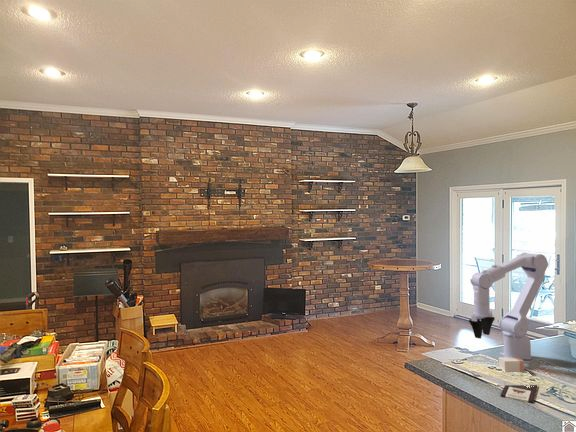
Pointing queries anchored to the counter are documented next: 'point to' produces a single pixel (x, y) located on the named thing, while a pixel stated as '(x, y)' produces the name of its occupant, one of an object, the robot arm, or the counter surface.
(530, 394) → the chocolate bar
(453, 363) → the counter surface
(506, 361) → the card box
